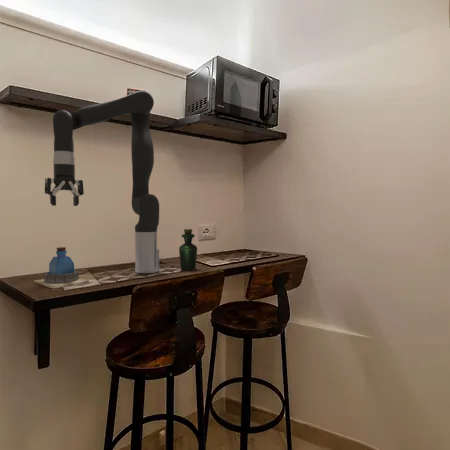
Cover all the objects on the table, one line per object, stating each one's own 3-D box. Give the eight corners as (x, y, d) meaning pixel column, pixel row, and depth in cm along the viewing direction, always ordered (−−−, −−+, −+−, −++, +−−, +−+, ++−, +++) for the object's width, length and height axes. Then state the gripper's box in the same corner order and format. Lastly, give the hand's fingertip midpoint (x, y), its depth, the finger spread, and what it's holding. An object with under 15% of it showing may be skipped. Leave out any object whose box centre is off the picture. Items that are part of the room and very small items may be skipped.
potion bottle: (187, 271, 153) (187, 229, 152) (175, 269, 158) (175, 229, 157) (201, 269, 159) (201, 229, 158) (188, 267, 164) (188, 228, 163)
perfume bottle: (74, 280, 130) (73, 247, 129) (57, 282, 125) (56, 249, 125) (66, 278, 134) (65, 246, 133) (49, 280, 129) (48, 247, 129)
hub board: (69, 277, 139) (69, 267, 139) (88, 282, 130) (88, 272, 129) (34, 282, 130) (34, 272, 129) (52, 288, 120) (52, 277, 120)
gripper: (49, 161, 130) (50, 205, 131) (86, 165, 141) (87, 205, 142) (41, 163, 135) (42, 205, 136) (77, 166, 146) (77, 206, 147)
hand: (65, 205), depth 139 cm, fingers open, 8 cm apart
